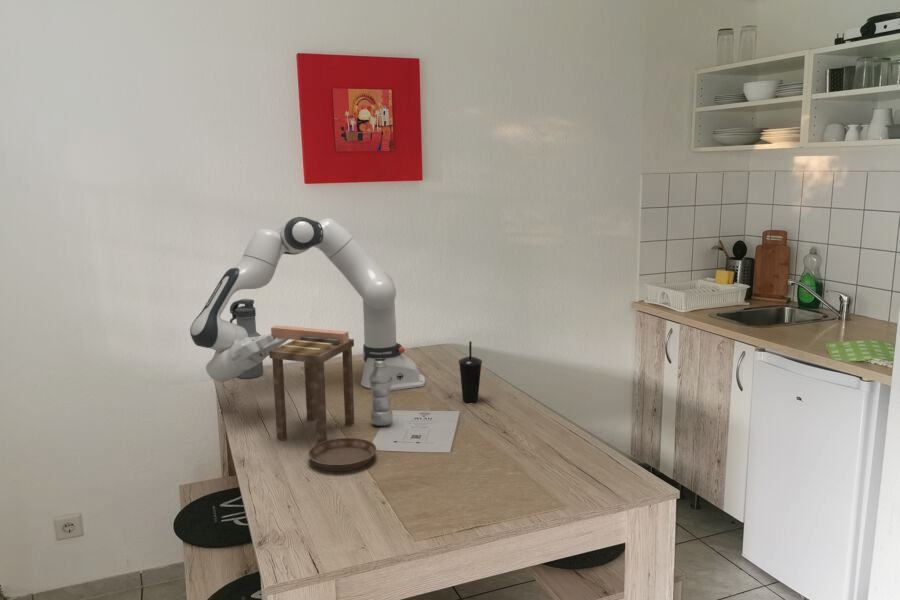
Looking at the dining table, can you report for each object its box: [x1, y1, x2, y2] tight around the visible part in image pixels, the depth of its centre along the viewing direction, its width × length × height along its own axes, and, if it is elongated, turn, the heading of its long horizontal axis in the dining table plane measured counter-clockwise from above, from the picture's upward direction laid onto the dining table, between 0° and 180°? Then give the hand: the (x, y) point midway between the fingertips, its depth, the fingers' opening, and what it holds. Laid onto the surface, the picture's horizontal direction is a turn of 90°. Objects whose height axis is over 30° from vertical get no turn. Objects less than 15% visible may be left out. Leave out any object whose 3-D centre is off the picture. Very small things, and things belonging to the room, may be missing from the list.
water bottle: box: [229, 298, 264, 380], centre depth 255 cm, size 10×10×28 cm
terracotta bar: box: [270, 325, 350, 344], centre depth 205 cm, size 24×3×3 cm, turn 70°
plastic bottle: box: [369, 358, 394, 427], centre depth 208 cm, size 6×7×20 cm
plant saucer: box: [307, 437, 377, 472], centre depth 185 cm, size 18×18×3 cm
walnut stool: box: [268, 334, 355, 445], centre depth 202 cm, size 16×19×28 cm
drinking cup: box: [458, 341, 483, 404], centre depth 227 cm, size 8×8×20 cm
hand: (282, 333), depth 208 cm, fingers open, 8 cm apart
